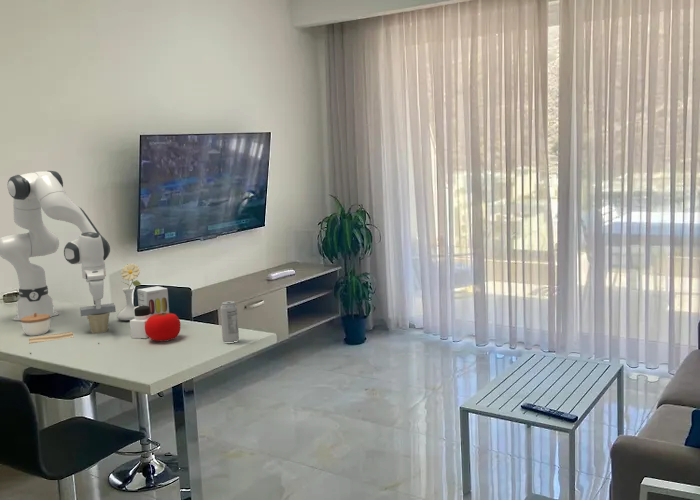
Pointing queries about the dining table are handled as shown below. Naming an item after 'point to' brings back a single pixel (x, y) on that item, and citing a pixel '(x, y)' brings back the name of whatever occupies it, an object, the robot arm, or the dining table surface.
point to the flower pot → (99, 322)
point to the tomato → (162, 326)
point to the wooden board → (51, 337)
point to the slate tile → (92, 309)
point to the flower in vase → (129, 291)
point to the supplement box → (154, 299)
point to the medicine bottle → (139, 322)
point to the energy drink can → (229, 321)
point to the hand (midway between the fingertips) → (97, 306)
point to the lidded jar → (36, 324)
